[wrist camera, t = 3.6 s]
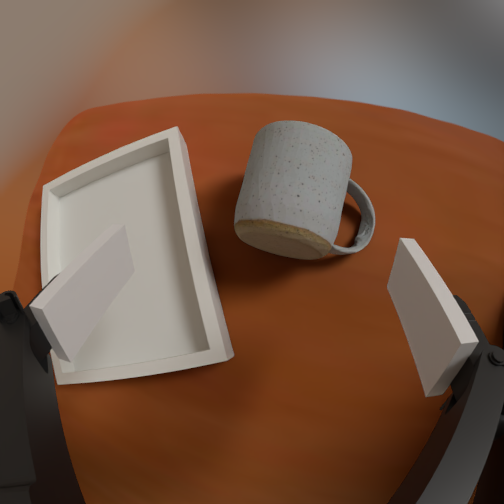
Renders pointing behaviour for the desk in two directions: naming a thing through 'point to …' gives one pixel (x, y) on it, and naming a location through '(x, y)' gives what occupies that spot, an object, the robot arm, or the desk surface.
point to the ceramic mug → (299, 193)
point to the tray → (139, 262)
